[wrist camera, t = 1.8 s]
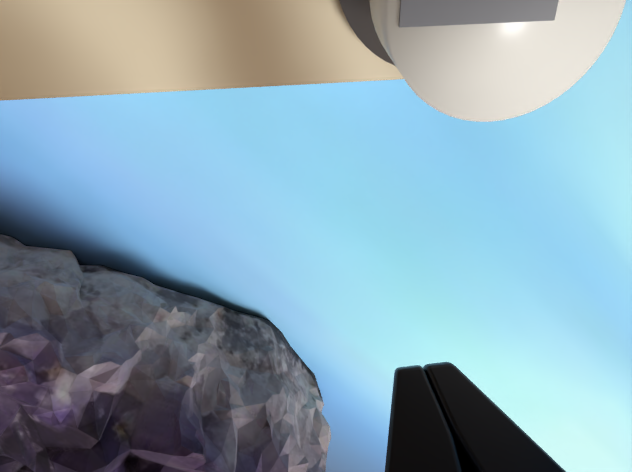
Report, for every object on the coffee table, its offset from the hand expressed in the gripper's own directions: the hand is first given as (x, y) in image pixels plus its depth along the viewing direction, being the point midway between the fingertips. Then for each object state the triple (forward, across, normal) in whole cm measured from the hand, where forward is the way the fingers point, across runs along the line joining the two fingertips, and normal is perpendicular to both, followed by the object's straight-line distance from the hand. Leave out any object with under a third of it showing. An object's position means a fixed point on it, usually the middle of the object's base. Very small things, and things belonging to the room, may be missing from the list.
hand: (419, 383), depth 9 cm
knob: (+10, -3, -4) cm, 11 cm away
